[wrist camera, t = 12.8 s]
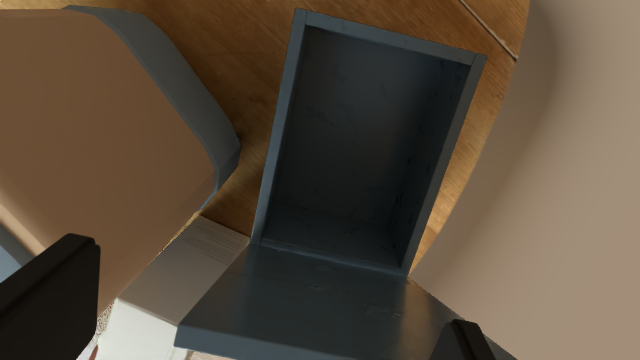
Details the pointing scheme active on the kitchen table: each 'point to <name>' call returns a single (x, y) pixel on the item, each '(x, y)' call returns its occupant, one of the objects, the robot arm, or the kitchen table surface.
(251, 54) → the kitchen table surface
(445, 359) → the robot arm
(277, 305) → the lid
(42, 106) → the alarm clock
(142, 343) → the cosmetic box
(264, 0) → the kitchen table surface
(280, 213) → the grey open box
